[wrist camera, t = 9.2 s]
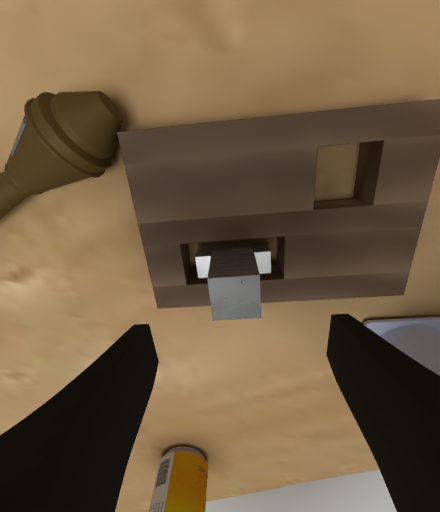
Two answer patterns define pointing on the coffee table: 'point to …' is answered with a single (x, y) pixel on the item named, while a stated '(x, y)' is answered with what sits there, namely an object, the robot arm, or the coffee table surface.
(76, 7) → the coffee table surface
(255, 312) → the gray t-shaped block
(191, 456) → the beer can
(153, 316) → the coffee table surface
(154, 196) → the stand
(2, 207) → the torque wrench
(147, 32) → the coffee table surface
